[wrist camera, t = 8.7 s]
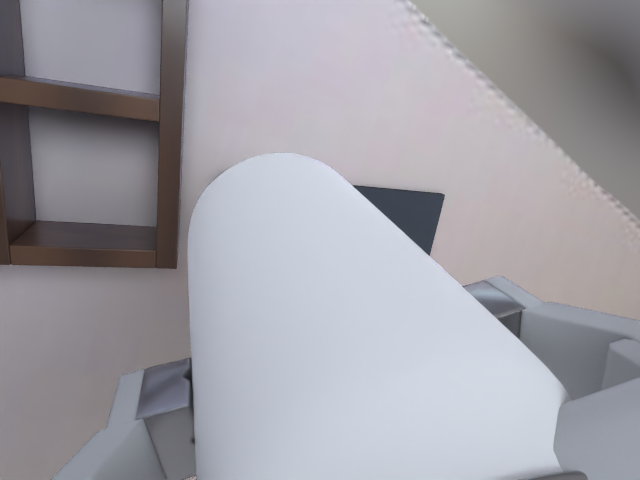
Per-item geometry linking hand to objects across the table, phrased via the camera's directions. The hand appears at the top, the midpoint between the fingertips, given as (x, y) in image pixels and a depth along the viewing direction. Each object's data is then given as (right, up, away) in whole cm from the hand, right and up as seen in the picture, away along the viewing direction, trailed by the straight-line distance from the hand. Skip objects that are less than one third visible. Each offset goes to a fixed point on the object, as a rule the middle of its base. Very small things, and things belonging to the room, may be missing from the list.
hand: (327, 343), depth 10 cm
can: (-2, +3, +5) cm, 7 cm away
